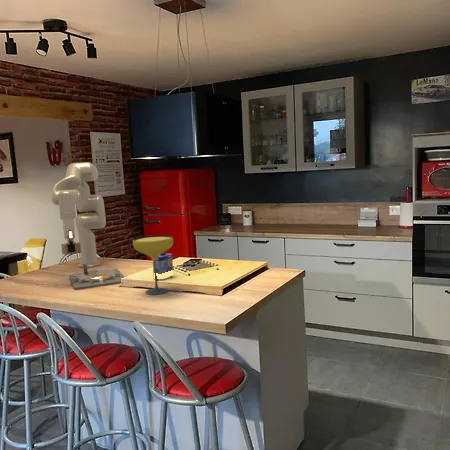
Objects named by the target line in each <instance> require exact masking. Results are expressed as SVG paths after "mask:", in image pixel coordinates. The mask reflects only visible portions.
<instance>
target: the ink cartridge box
mask: <svg viewBox="0 0 450 450" xmlns="http://www.w3.org/2000/svg"><path fill="white" fill-rule="evenodd" d="M155 264H156V273H158V274H162V273H165V272H168V271H171V270H173V271H174V265H173V254H172V253H167V251H165V252H163V253H162V254H160V255H159V256H158V258H157V259H156V260H155ZM152 267H153V268H152V269H153V270H152V272H153V274H154V273H155V269H154V260H152Z"/></svg>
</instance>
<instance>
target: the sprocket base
mask: <svg viewBox="0 0 450 450" xmlns="http://www.w3.org/2000/svg"><path fill="white" fill-rule="evenodd" d="M113 269H114V271H116V270H119V269H118V268H113ZM74 275H79V273H74V274H68V278H69V281H70V284H72V288H73V290H74V291H79V290H86V289H87V290H88V289H92V288H93V289H94V288H101V287H107V286H113V285H114V286H115V285H121V284H122V283H121V278H124V277H126V276H125V275H124V274H123V273H122V272H121V271H120V276H116V278H115V279H107V280H106V281H103V279H99V281H94V282H93V283H89V282H82V283H80V282H79V281H74V280H73V278H74ZM120 283H121V284H120Z"/></svg>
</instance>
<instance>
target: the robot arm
mask: <svg viewBox="0 0 450 450" xmlns="http://www.w3.org/2000/svg"><path fill="white" fill-rule="evenodd" d="M98 178H99V172H98V169H97V167H96V166H95V164H93V163H91V162H89V161H87V162H86V161H83V162H73V163H70V164H68V166H67V167H66V172H65V177H64V178H62V179H61V180H60V181H57V183H56V184H55V185H54V186H53V189H52V192H51V202H52V203H53V204H54V205H55V206H59V207H58V208H59V217H60V221H61V220H62V227H63V228H62V229H63V238H64V240H67V241H66V242H67V243H68V250H69V253H72V252H75V244H74V242H75V238H76V230H77V235H78V242H79V243H80V245H81V253H79V256H80V263H79V264H78V267H79V268H83V264H87V268H93V267H98V266H99V265H101V262H100V261H99V260H98V255H97V254H98V253H97V246H96V237H95V234H94V233H93V231H92V230H98V229H99V230H100V229H104V228H105V227H106V225H107V224H106V223H107V220H106V219H107V218H106V211H105V201H104V198H103V196H102V195H100V194H91V191H90V186H89V184H88V183H87V182H95V181H98ZM76 209H77V210H78V212H87V213H79V214H78V215H77V213H76ZM88 212H89V213H88ZM75 227H76V228H75ZM75 229H76V230H75Z"/></svg>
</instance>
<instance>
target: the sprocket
mask: <svg viewBox="0 0 450 450" xmlns="http://www.w3.org/2000/svg"><path fill="white" fill-rule="evenodd" d="M82 268H83V271H81V272H78V274H79V275H74V278H73V280H74V281H79V282H80V283H82V282H89V283H93V282H94V281H99V279H103V281H106V280H107V279H115V278H116V276H120V272H121V271H120V270H119V269H118V270H116V271H114V269H115V268H110V269H105V268H100V269H97V270H95V269H94V270H93V269H91V270H88V267H87V264H83V267H82Z"/></svg>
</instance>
